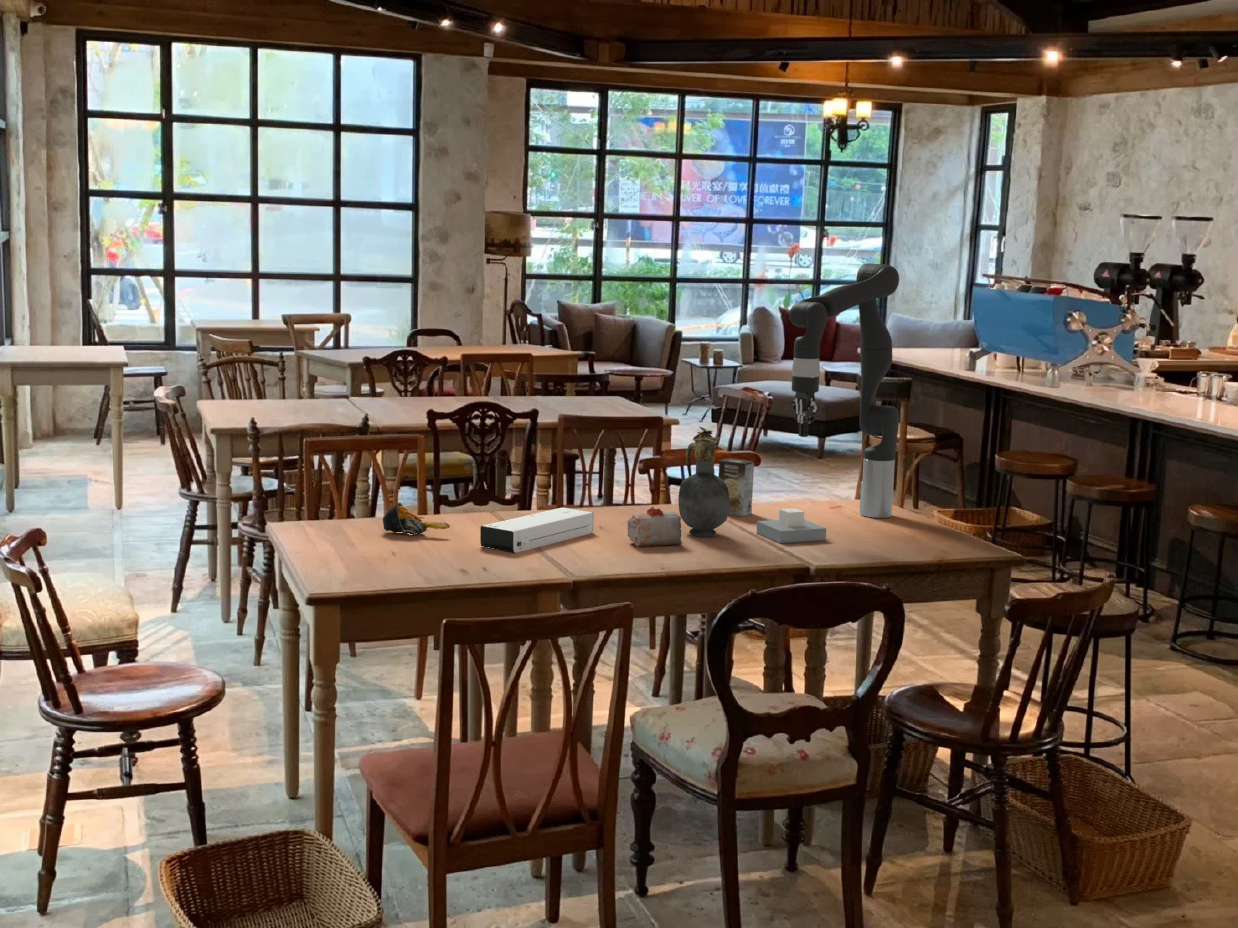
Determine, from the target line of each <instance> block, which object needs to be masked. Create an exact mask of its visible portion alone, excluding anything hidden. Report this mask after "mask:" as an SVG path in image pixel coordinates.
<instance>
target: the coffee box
mask: <svg viewBox="0 0 1238 928" xmlns="http://www.w3.org/2000/svg"><path fill="white" fill-rule="evenodd" d="M754 468H755V461H753V460H746V459H740V458H739V459H738V458H731V457H728V458H725V459H720V460H719V461H718V477H720V478H721V479H722V480H723V481H724V482H725V484H726V485H727V487H728V491H729V499H730V506H729V513H728V516H730V515H732V516H738V517H745V516H748V515H751V514H752V511H753V493H754V491H753V490H754V473H755V472H754V471H755V469H754Z"/></svg>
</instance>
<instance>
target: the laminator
mask: <svg viewBox="0 0 1238 928" xmlns="http://www.w3.org/2000/svg"><path fill="white" fill-rule="evenodd" d="M593 531H594V512H592V511H589V510H588V511H587V510H581V509H577V508H576V509H575V508H568V507H560V508H559V507H557V508H554V509H550V510H546V511H541V512H536V513H531V514H528V515H524V516H519V517H514V518H510V519H507V520H501V521H496V522H493V523H488V524H483V525H481V526H480V538H479V539H480V546H481V547H482V546H484V547H483V548H485V547H490V548H489V549H491V548H494V549H493V550H496V549H498V550H497V551H501V552H507V553H511V552H512V554H517V552H518V553H521V552H525V551H529V550H533V549H537V548H541V547H544V546H548V545H552V544H557V543H559V542H563V541H564V542H565V541H567V540H571V539H574V538H579V537H582V536H587V535H590V534H593Z"/></svg>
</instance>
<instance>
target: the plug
mask: <svg viewBox="0 0 1238 928" xmlns="http://www.w3.org/2000/svg"><path fill="white" fill-rule="evenodd" d="M778 512H779V513H778V514H779V515H778V520H779V524H782V525H784V526H787V527H794V526H804V520H805V511H804V510H801V509H798V508H795V507H793V508H780V509H779V511H778Z"/></svg>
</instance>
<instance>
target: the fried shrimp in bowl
mask: <svg viewBox="0 0 1238 928" xmlns="http://www.w3.org/2000/svg"><path fill="white" fill-rule="evenodd" d="M422 519H425V517H424V516H418V515H416V514H414V513H412V512H409V509H408V508H407V507H406V506H404V505H403V504H402V503H401V502H397V503H396V504H395V505H394V506H392V507H390V508H389V510H387V512H386V514H385V515H384V516H383V517H382V523H383V524H382V525H383V530H385V531H386V532H389V531H390V532H392V533H394V532H403V533H402V534H405V533H410V534H414V536H416V535H417V534H416V533H421V534H422V533H425V532H426V531H427V529H428V528H430V529H434V530H435V529H436V530H439V529H440V530H445V529H446V530H447V529H449V528H450V524H449V523H447V522H436V521H423V520H422Z"/></svg>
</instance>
